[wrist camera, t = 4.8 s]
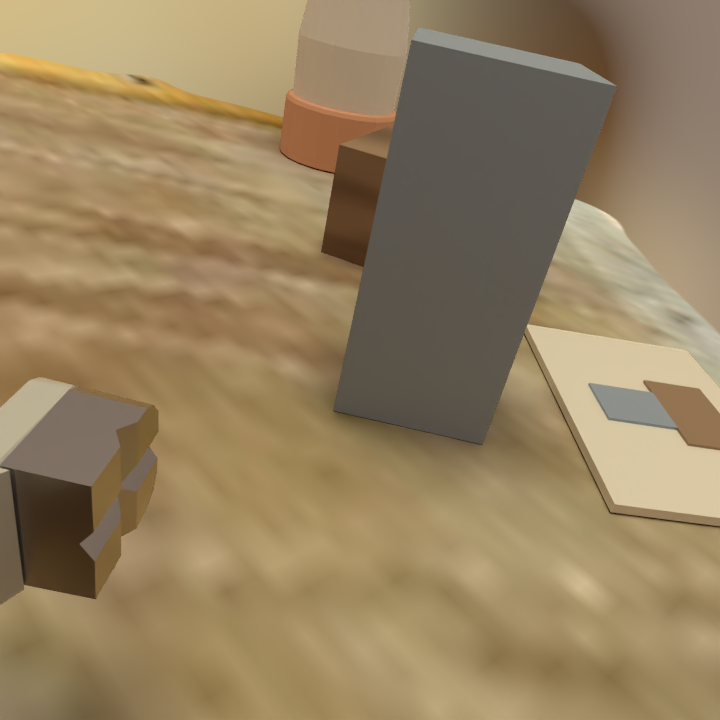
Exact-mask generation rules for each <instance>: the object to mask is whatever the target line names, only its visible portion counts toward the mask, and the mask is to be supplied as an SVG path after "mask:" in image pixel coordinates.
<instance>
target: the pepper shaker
mask: <svg viewBox="0 0 720 720" xmlns="http://www.w3.org/2000/svg"><path fill="white" fill-rule="evenodd" d="M409 13H410V0H308V1H307V5H306V9H305V12H304V16H303V20H302V23H301V27H300V31H299V39H298V49H297V59H296V69H295V80H294V89H292V90H290V91H288V93H287V94H286V101H285V110H284V117H283V126H282V134H281V142H280V150H281V152H282V153H283V154H284V155H286V156H287V157H288V158H290V159H292V160H294V161H296V162H298V163H301V164H304V165H307V166H310V167H313V168H316V169H320V170H324V171H329V172H333V173H335V168H336V162H337V156H338V150H339V144H342V143H345V142H348V141H350V140H353V139H356V138H359V137H361V136H364V135H367V134H370V133H372V132H375V131H378V130H381V129H383V128H386V127H389V126H392V125H394V121H395V116H396V111H395V110H394V106H395V102H396V98H397V94H398V89H399V85H400V81H401V76H402V72H403V68H404V64H405V60H406V55H407V42H408V28H409Z"/></svg>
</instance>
